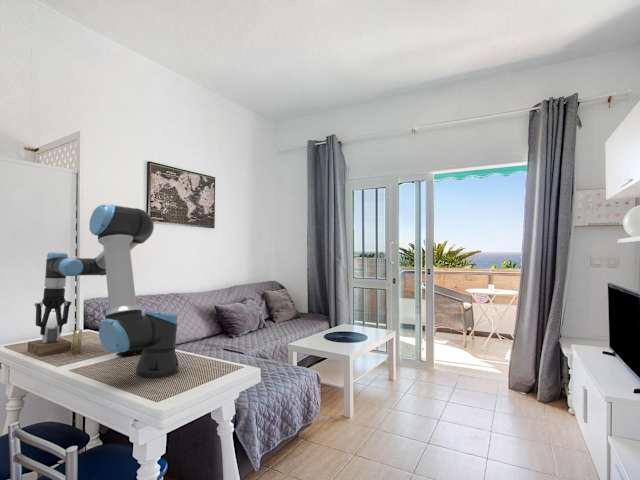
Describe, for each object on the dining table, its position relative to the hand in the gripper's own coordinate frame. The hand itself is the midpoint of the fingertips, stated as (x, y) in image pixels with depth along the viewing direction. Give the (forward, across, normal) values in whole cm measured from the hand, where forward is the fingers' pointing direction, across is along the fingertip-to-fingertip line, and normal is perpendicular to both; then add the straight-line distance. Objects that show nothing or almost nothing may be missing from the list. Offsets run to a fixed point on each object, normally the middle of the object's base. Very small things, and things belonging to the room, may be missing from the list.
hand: (50, 341), depth 164 cm
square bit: (+4, 0, 0) cm, 4 cm away
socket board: (+4, 0, 0) cm, 4 cm away
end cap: (+5, -21, +27) cm, 34 cm away
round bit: (+4, -6, +11) cm, 13 cm away
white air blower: (+4, -7, -17) cm, 19 cm away
